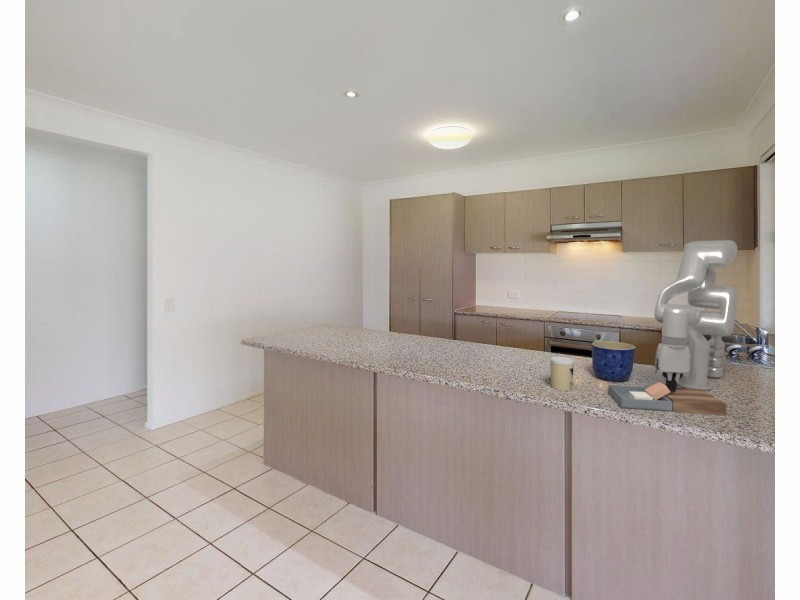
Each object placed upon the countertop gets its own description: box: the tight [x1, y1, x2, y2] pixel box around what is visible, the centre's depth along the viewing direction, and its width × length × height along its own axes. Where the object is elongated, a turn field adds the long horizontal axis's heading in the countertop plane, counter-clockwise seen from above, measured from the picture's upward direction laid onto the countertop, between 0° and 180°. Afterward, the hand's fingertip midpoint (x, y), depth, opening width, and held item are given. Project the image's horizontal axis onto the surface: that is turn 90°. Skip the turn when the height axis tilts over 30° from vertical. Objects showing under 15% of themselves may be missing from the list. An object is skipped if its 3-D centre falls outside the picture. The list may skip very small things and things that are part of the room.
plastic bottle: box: [707, 335, 726, 379], centre depth 178 cm, size 6×7×20 cm
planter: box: [591, 340, 636, 382], centre depth 177 cm, size 17×17×15 cm
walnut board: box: [665, 386, 727, 416], centre depth 145 cm, size 16×16×4 cm
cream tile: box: [629, 391, 653, 400], centre depth 148 cm, size 6×6×2 cm
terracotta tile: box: [645, 381, 670, 400], centre depth 147 cm, size 6×6×2 cm
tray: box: [607, 384, 672, 412], centre depth 149 cm, size 16×16×4 cm
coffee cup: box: [549, 356, 575, 391], centre depth 166 cm, size 9×9×12 cm
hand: (670, 390), depth 146 cm, fingers closed
